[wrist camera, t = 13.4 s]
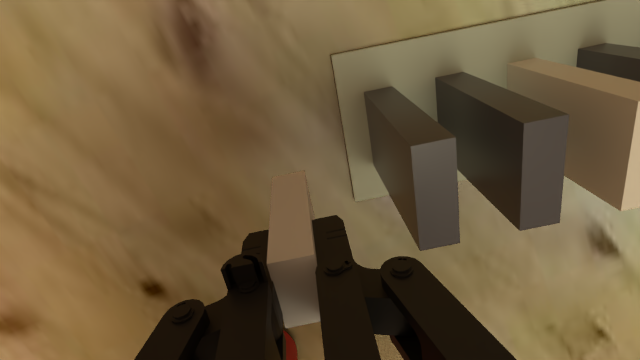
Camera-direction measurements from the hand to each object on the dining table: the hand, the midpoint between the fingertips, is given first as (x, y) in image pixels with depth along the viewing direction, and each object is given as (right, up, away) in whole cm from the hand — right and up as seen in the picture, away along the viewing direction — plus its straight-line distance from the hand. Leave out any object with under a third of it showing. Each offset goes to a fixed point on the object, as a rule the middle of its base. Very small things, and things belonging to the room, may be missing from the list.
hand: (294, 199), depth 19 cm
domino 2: (+10, +5, +7) cm, 13 cm away
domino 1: (+5, +4, +7) cm, 10 cm away
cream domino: (+14, +6, +7) cm, 17 cm away
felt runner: (+14, +6, +7) cm, 17 cm away
